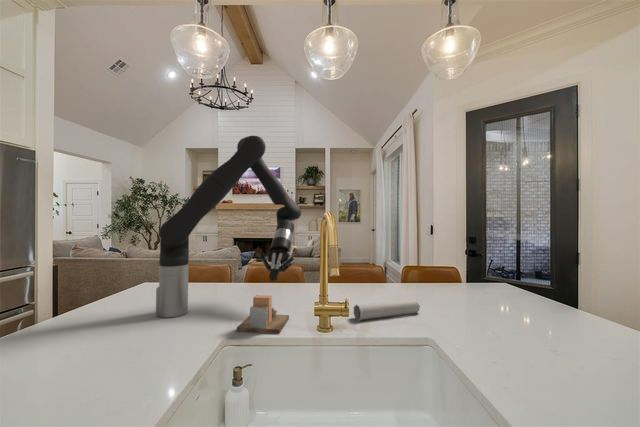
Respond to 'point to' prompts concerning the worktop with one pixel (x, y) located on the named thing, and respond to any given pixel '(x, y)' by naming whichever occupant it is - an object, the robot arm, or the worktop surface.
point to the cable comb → (274, 311)
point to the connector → (259, 317)
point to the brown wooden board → (273, 327)
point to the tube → (385, 309)
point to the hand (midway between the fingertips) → (272, 280)
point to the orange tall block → (264, 303)
